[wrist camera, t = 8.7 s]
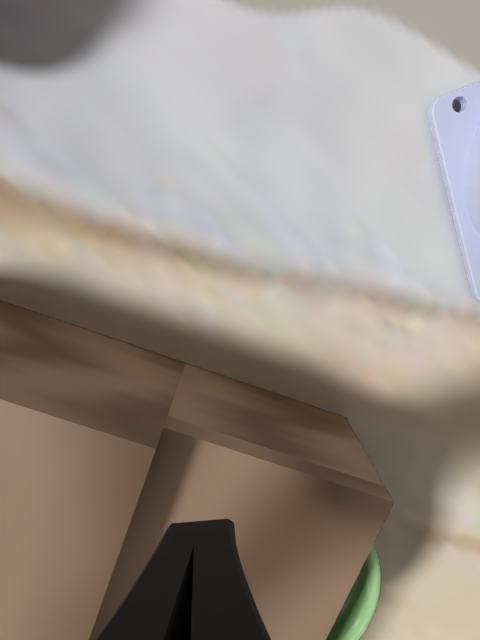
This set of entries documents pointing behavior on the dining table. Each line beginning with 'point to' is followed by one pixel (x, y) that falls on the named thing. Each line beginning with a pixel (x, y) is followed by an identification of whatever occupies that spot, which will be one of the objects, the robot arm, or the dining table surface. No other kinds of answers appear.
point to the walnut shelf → (165, 482)
